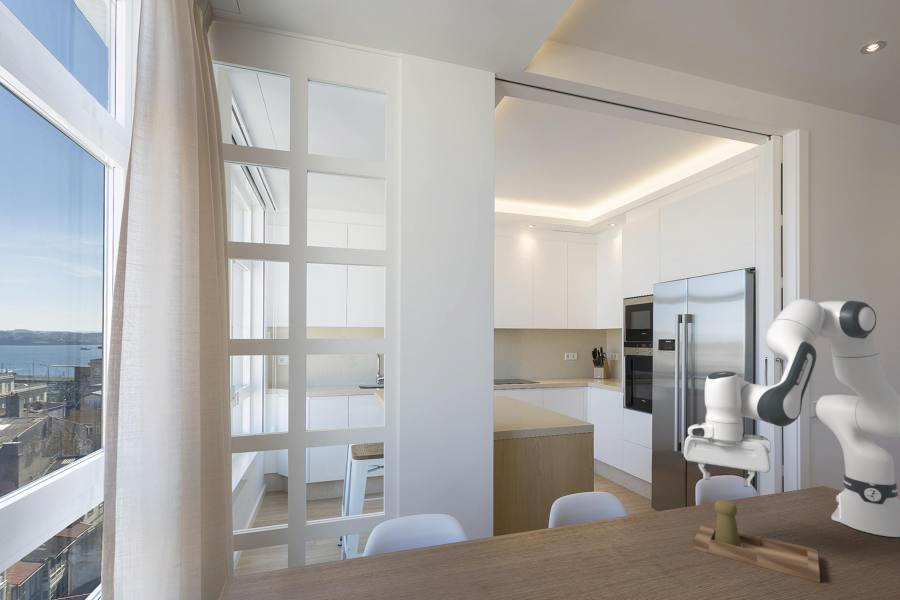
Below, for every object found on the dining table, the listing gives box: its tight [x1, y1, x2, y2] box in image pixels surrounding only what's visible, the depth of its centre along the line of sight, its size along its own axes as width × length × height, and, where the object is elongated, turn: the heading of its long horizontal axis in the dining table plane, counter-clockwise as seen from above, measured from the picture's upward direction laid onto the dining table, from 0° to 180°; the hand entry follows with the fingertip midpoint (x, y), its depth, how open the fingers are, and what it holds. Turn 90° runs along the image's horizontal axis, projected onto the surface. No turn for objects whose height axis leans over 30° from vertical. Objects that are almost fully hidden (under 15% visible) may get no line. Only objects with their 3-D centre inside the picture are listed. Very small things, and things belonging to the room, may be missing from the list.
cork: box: [714, 499, 741, 547], centre depth 122 cm, size 6×6×11 cm
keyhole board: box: [693, 522, 821, 583], centre depth 118 cm, size 14×26×2 cm, turn 53°
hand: (726, 482), depth 123 cm, fingers open, 8 cm apart
